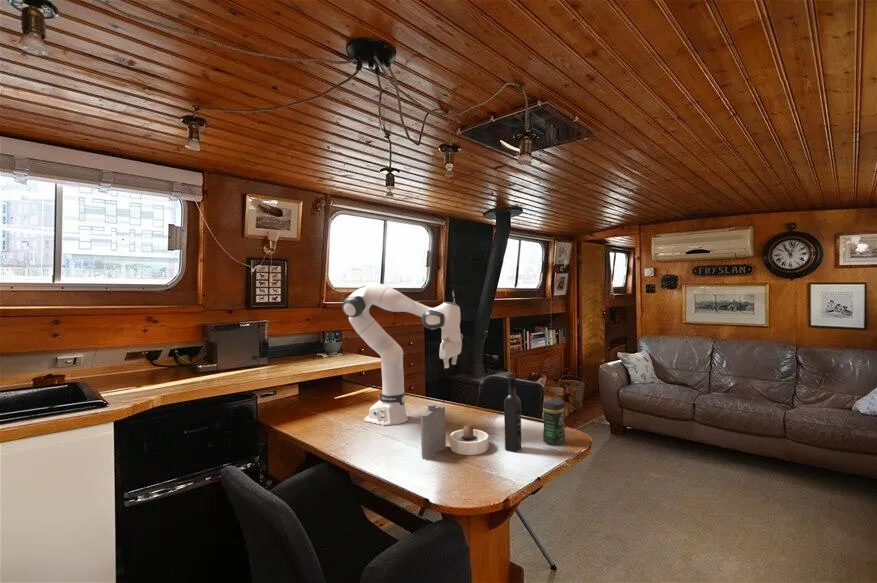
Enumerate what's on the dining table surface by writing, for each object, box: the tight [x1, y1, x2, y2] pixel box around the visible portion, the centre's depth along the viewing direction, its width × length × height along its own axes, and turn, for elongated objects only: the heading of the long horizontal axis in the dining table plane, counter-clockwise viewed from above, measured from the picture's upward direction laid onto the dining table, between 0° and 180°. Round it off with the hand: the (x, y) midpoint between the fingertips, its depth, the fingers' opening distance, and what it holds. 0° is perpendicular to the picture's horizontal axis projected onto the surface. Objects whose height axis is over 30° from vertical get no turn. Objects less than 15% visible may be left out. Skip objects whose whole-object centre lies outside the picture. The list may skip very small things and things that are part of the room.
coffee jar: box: [542, 397, 566, 446], centre depth 182 cm, size 10×8×19 cm
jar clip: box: [460, 435, 478, 442], centre depth 178 cm, size 7×7×3 cm
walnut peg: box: [463, 424, 474, 441], centre depth 178 cm, size 4×4×8 cm
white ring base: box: [449, 428, 490, 456], centre depth 178 cm, size 16×16×5 cm
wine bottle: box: [503, 376, 522, 453], centre depth 175 cm, size 6×6×30 cm
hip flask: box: [420, 403, 447, 460], centre depth 174 cm, size 16×4×20 cm, turn 148°
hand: (450, 366), depth 197 cm, fingers open, 8 cm apart
